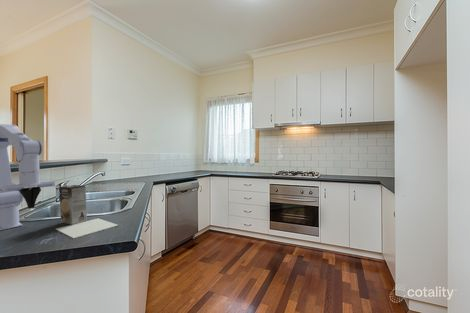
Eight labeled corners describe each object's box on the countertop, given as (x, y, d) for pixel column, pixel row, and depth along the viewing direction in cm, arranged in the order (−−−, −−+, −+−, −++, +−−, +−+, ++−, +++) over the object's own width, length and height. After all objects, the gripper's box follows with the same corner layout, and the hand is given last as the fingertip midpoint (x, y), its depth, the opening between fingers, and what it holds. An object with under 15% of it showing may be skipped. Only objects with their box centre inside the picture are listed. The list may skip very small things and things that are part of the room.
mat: (55, 229, 89) (55, 228, 88) (98, 218, 102) (98, 218, 102) (73, 238, 78) (73, 237, 78) (118, 225, 92) (118, 224, 92)
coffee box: (60, 223, 97) (58, 187, 97) (75, 218, 102) (73, 184, 102) (72, 224, 93) (70, 187, 93) (87, 220, 99) (86, 185, 99)
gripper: (4, 174, 74) (6, 214, 75) (57, 170, 86) (58, 204, 86) (-1, 173, 78) (1, 211, 79) (50, 170, 90) (52, 202, 90)
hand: (31, 207), depth 83 cm, fingers closed
